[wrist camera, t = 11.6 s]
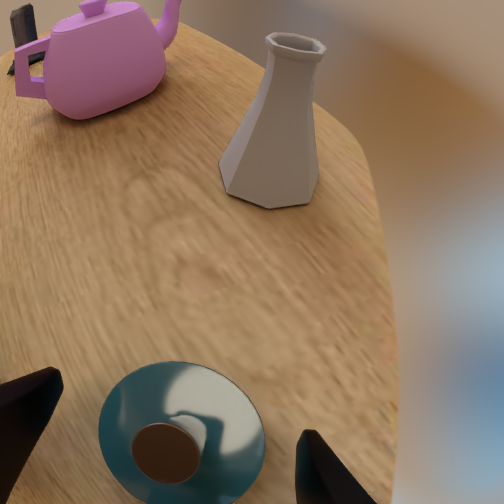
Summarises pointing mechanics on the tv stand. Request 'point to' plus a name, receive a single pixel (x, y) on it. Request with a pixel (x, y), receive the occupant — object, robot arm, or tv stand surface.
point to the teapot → (99, 58)
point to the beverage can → (24, 31)
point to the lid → (181, 435)
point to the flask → (278, 129)
